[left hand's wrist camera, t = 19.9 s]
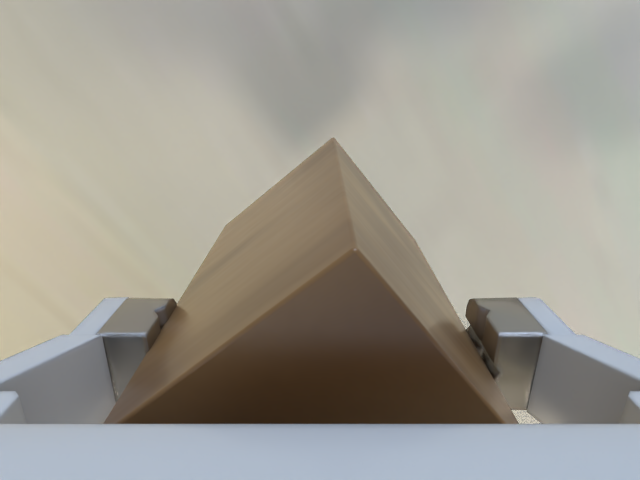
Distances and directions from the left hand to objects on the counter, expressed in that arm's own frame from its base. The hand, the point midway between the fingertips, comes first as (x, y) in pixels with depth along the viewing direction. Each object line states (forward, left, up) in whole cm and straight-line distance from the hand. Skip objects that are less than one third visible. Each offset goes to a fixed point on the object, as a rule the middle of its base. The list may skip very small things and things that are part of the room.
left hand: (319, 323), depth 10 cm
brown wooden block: (0, 0, -6) cm, 6 cm away
